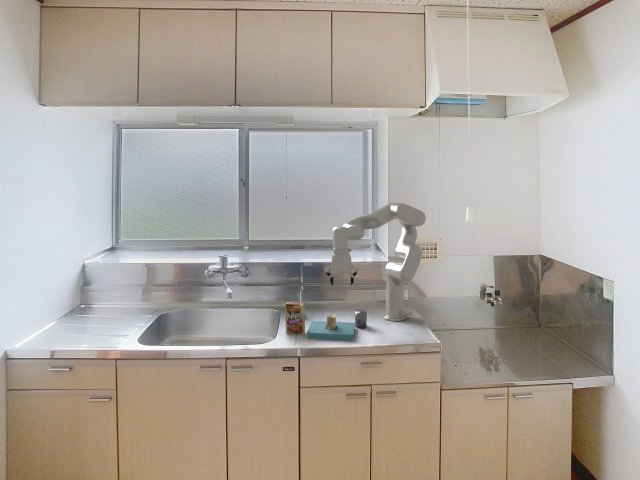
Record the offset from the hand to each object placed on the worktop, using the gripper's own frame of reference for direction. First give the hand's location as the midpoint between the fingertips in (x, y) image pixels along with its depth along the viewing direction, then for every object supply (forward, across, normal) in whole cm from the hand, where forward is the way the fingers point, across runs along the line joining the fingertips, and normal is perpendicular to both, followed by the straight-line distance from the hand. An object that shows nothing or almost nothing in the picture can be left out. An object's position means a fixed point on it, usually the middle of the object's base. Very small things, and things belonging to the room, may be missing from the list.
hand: (342, 284), depth 191 cm
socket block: (+22, +5, +8) cm, 24 cm away
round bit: (+23, -9, -2) cm, 25 cm away
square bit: (+22, +5, +8) cm, 24 cm away
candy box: (+22, +23, +10) cm, 33 cm away
